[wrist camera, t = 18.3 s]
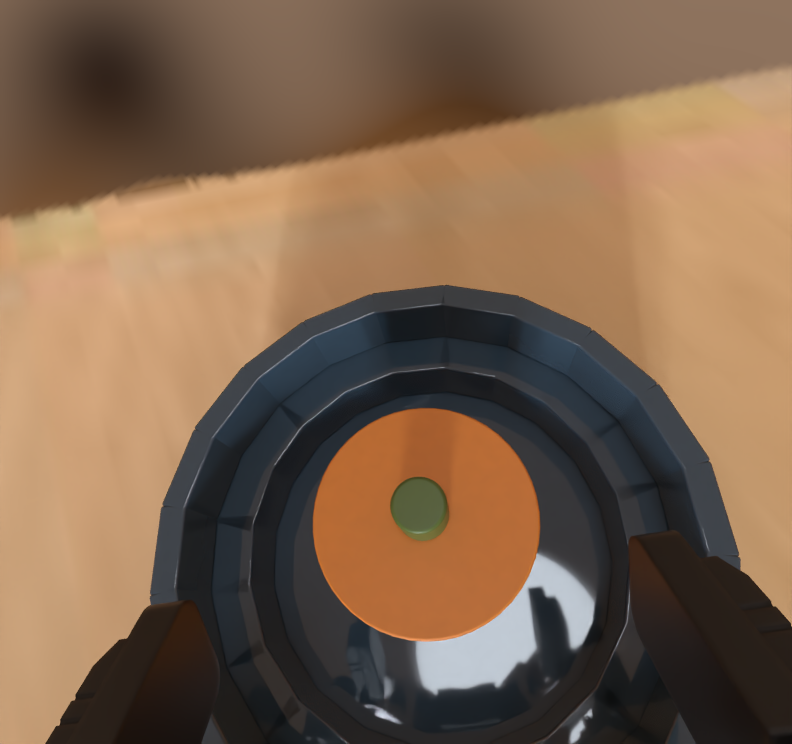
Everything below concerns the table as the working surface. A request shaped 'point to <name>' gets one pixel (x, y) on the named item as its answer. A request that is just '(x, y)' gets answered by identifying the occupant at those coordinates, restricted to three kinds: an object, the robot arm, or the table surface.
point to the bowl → (550, 575)
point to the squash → (426, 524)
